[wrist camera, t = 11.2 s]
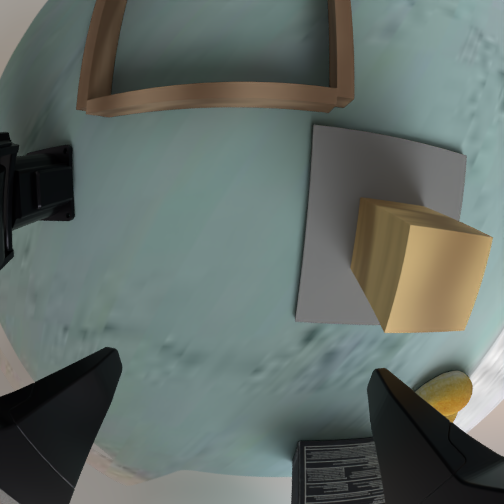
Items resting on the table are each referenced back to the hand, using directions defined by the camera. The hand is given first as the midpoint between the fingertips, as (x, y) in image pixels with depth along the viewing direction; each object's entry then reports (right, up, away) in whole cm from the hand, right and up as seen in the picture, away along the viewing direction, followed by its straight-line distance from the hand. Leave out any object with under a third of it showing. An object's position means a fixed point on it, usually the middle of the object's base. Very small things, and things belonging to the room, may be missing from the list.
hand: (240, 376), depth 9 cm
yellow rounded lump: (+21, -12, +15) cm, 28 cm away
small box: (+11, -20, +19) cm, 30 cm away
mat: (+10, +5, +10) cm, 15 cm away
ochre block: (+10, +5, +9) cm, 15 cm away
